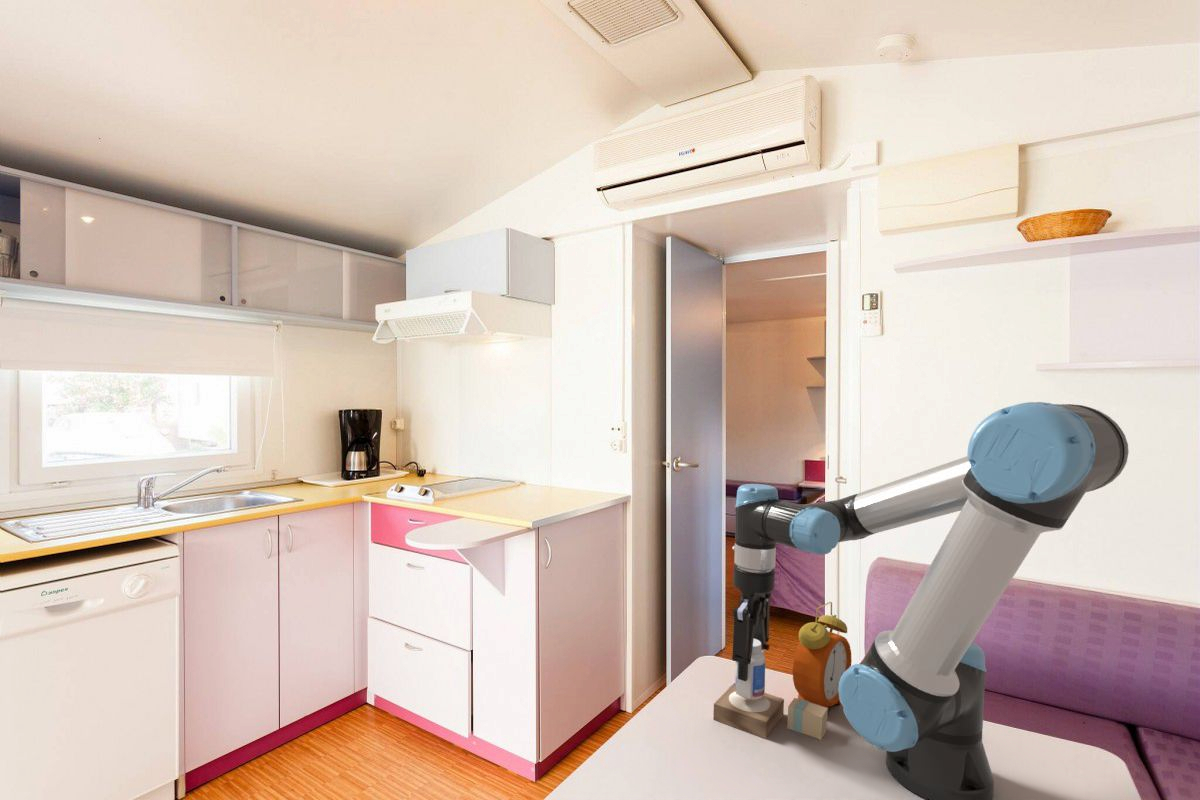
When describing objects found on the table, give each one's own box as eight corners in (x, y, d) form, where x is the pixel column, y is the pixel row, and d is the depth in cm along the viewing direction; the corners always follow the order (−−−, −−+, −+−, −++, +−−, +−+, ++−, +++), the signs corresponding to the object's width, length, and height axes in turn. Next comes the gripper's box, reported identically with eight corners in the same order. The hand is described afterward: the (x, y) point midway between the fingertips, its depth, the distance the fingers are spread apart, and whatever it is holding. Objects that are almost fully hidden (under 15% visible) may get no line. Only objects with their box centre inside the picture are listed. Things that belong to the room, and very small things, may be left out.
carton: (826, 729, 109) (827, 707, 109) (821, 740, 105) (821, 717, 105) (794, 718, 112) (794, 696, 112) (787, 728, 109) (788, 706, 109)
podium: (783, 714, 113) (784, 698, 113) (765, 738, 105) (766, 721, 105) (733, 697, 119) (734, 682, 119) (713, 719, 111) (713, 703, 111)
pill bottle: (763, 688, 114) (765, 637, 114) (765, 702, 109) (767, 649, 108) (734, 684, 115) (736, 634, 115) (735, 698, 110) (736, 646, 110)
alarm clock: (820, 724, 110) (824, 618, 110) (790, 711, 114) (794, 608, 114) (851, 700, 119) (855, 602, 119) (822, 688, 124) (825, 593, 123)
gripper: (752, 553, 121) (748, 665, 121) (715, 574, 106) (711, 702, 106) (789, 560, 117) (784, 676, 117) (756, 583, 102) (751, 717, 102)
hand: (749, 688), depth 112 cm, fingers closed on pill bottle, 5 cm apart
